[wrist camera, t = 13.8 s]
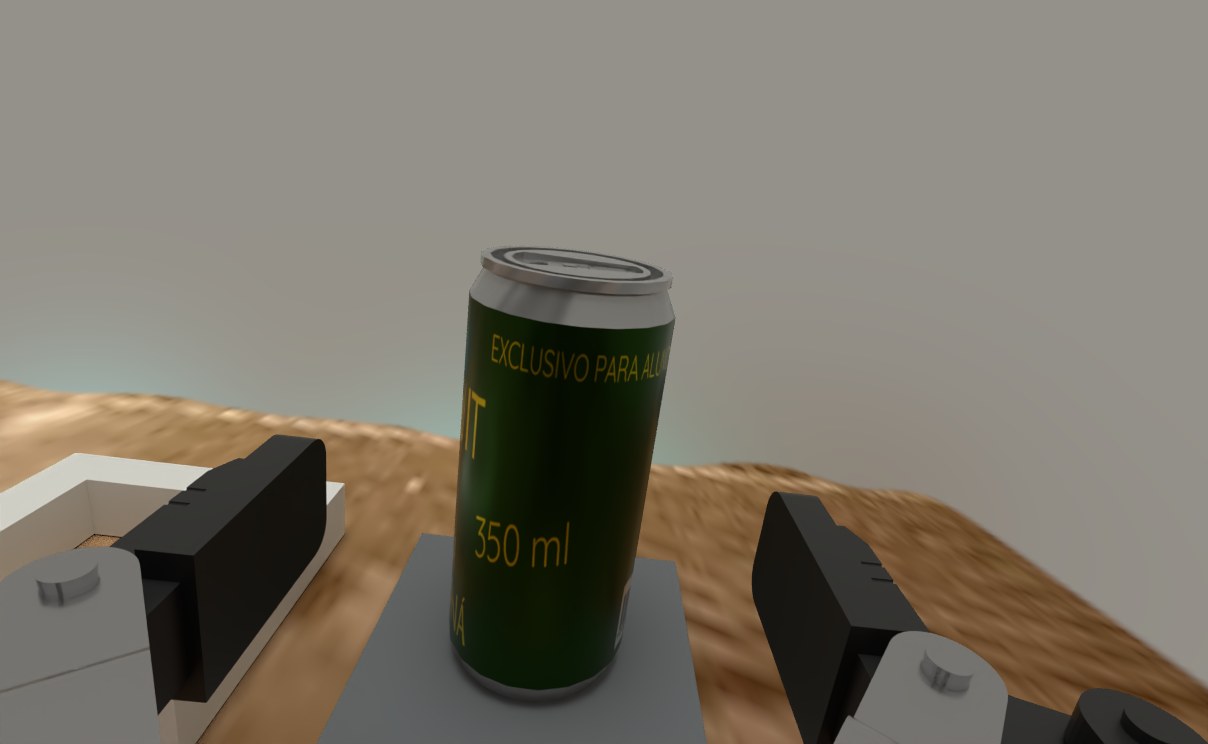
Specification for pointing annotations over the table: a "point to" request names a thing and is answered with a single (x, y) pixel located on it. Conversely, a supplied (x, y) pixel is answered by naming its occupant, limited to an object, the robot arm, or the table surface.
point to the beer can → (554, 463)
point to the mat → (505, 726)
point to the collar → (114, 507)
